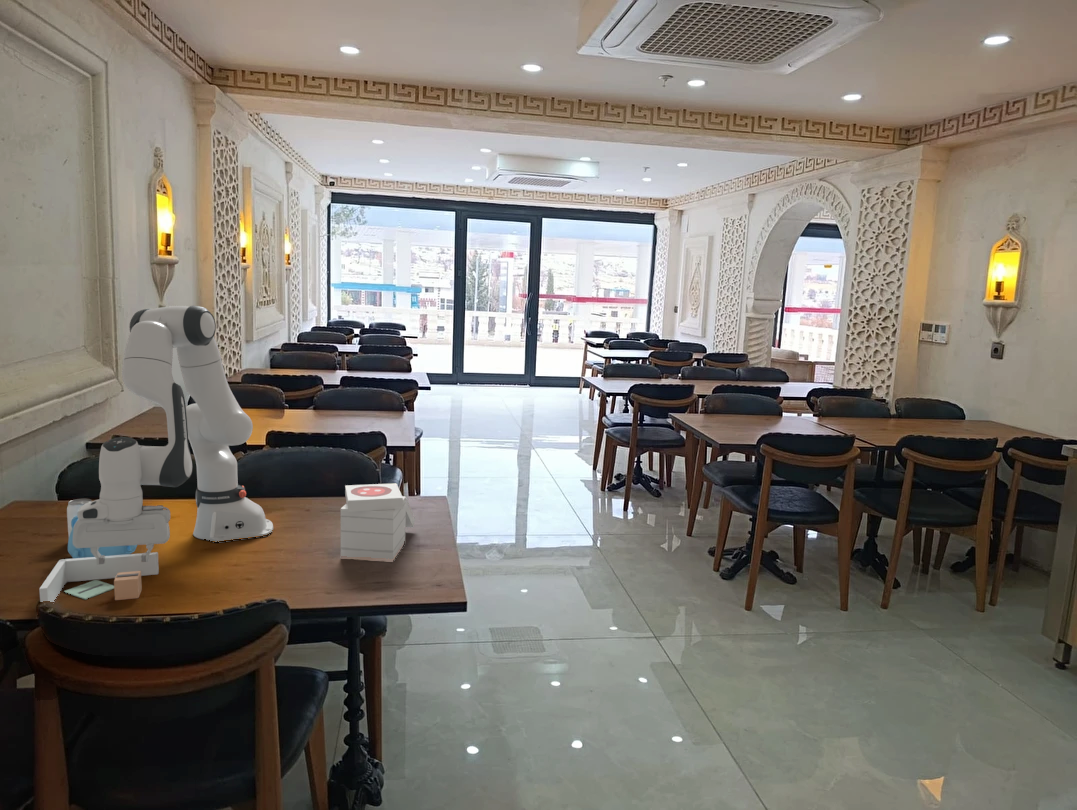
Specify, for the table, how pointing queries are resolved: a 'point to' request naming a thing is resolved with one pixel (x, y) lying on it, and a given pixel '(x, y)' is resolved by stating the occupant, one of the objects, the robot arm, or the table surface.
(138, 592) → the cube
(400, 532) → the pizza boxes
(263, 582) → the table surface
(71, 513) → the can
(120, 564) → the white l-shaped bracket
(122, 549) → the decorative pot
